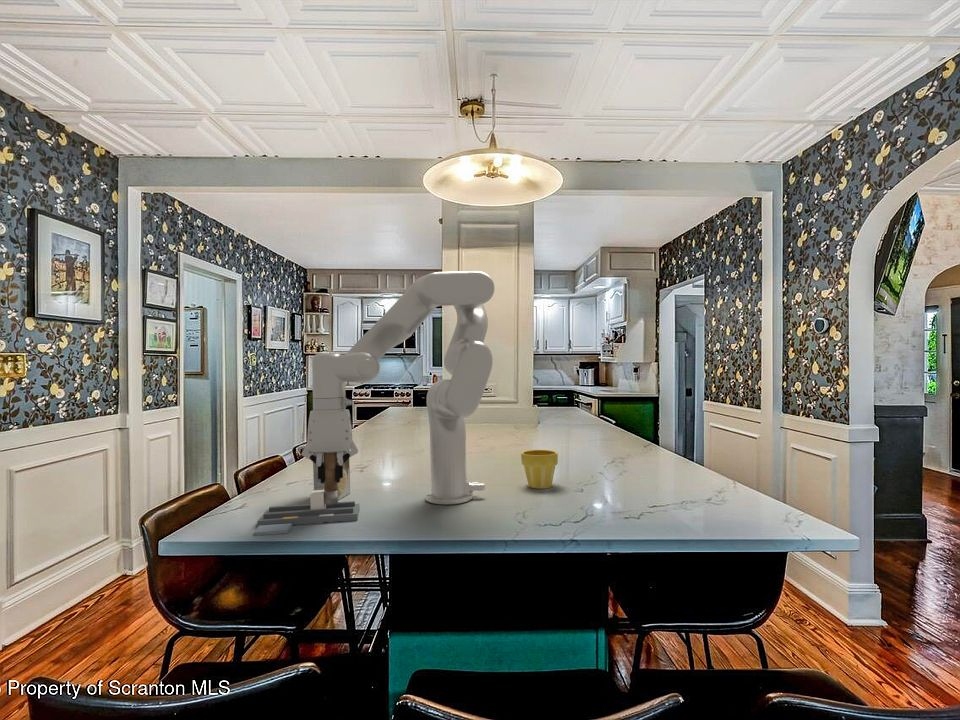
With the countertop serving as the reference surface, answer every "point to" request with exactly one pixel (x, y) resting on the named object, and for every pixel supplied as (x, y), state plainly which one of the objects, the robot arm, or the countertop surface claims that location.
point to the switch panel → (310, 514)
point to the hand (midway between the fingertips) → (330, 481)
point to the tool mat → (272, 529)
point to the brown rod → (330, 478)
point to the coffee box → (342, 486)
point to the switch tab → (317, 500)
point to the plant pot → (539, 467)
